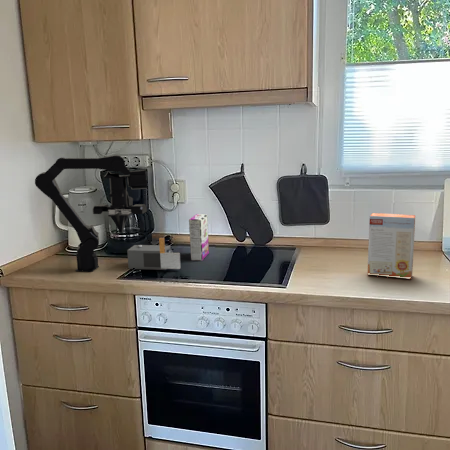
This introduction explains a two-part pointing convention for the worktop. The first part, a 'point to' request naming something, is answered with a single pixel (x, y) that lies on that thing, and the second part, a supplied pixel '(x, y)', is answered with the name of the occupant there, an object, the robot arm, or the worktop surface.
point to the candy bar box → (199, 237)
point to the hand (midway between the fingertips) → (121, 232)
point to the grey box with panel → (145, 257)
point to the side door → (168, 257)
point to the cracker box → (391, 244)
